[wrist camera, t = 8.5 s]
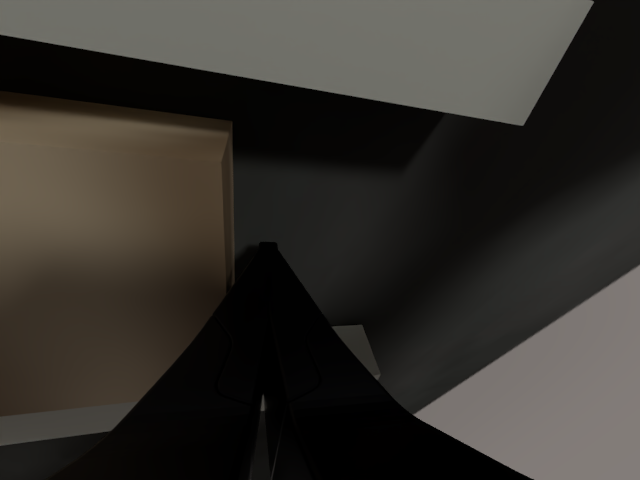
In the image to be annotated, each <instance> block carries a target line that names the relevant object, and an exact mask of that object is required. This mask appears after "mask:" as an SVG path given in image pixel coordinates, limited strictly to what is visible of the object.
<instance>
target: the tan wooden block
mask: <svg viewBox="0 0 640 480" xmlns="http://www.w3.org/2000/svg"><path fill="white" fill-rule="evenodd" d="M234 283H235V272H234V201H233V130H232V121H228V120H220V119H213V118H205V117H197V116H190V115H182V114H174V113H167V112H159V111H152V110H144V109H136V108H129V107H121V106H113V105H106V104H98V103H91V102H83V101H75V100H68V99H60V98H52V97H45V96H37V95H30V94H22V93H14V92H7V91H0V417H2V416H11V415H20V414H29V413H38V412H47V411H56V410H65V409H74V408H83V407H92V406H101V405H110V404H119V403H128V402H137V401H139V400H140V399H141V398H142V397H143V396H144V395H145V394H146V393H147V392H148V390H149V389H150V388H151V387H152V386H153V385H154V384H155V383H156V382H157V381H158V379H159V378H160V377H161V376H162V375H163V374H164V373H165V372H166V371H167V370H168V368H169V367H170V366H171V365H172V364H173V363H174V362H175V361H176V359H177V358H178V357H179V356H180V355H181V354H182V353H183V351H184V350H185V349H186V348H187V347H188V346H189V344H190V343H191V342H192V341H193V339H194V338H195V337H196V335H197V334H198V333H199V331H200V330H201V329H202V328H203V326H204V325H205V323H206V322H207V321H208V319H209V318H210V316H212V314H213V312H214V311H215V310H216V308H217V307H218V305H219V304H220V303H221V301H222V300H223V298H224V297H225V296H226V294H227V293H228V291H229V290H230V289H231V287H232V286H233V284H234Z"/></svg>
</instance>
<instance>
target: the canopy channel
mask: <svg viewBox="0 0 640 480" xmlns="http://www.w3.org/2000/svg"><path fill="white" fill-rule="evenodd" d="M593 3H594V1H591V0H0V35H6V36H11V37H17V38H23V39H28V40H34V41H40V42H46V43H51V44H57V45H63V46H68V47H74V48H80V49H86V50H91V51H97V52H103V53H109V54H114V55H120V56H126V57H131V58H137V59H143V60H149V61H154V62H160V63H166V64H171V65H177V66H183V67H189V68H194V69H200V70H206V71H212V72H217V73H223V74H229V75H234V76H240V77H246V78H252V79H257V80H263V81H269V82H274V83H280V84H286V85H292V86H297V87H303V88H309V89H314V90H320V91H326V92H332V93H337V94H343V95H349V96H355V97H360V98H366V99H372V100H377V101H383V102H389V103H395V104H400V105H406V106H412V107H417V108H423V109H429V110H435V111H440V112H446V113H452V114H458V115H463V116H469V117H475V118H480V119H486V120H492V121H498V122H503V123H509V124H515V125H520V126H523V125H524V123H525V122H526V120H527V118H528V116H529V115H530V113H531V111H532V109H533V108H534V106H535V104H536V102H537V101H538V99H539V97H540V95H541V94H542V92H543V90H544V88H545V87H546V85H547V83H548V81H549V80H550V78H551V76H552V74H553V73H554V71H555V69H556V67H557V66H558V64H559V62H560V61H561V59H562V57H563V55H564V54H565V52H566V50H567V48H568V47H569V45H570V43H571V41H572V40H573V38H574V36H575V34H576V33H577V31H578V29H579V27H580V26H581V24H582V22H583V20H584V19H585V17H586V15H587V13H588V12H589V10H590V8H591V6H592V5H593ZM332 328H333V329H334V330H335V332H336V333H337V334H338V336H339V337H340V338H341V340H342V341H343V342H344V343H345V344H346V345H347V347H348V348H349V349H350V350H351V351H352V353H353V354H354V355H355V356H356V357H357V358H358V359H359V361H360V362H361V363H362V364H363V365H364V366H365V367H366V368H367V369H368V371H369V372H370V373H371V374H372V375H373V376H374V377H375V378H376V380H378V378H379V377H380V375H381V374H380V371H379V369H378V366H377V363H376V361H375V358H374V355H373V353H372V350H371V347H370V344H369V342H368V339H367V336H366V334H365V331H364V328H363V326H362V325H350V326H332ZM137 403H138V401H137V402H128V403H119V404H110V405H101V406H92V407H83V408H74V409H65V410H56V411H47V412H38V413H29V414H20V415H11V416H2V417H0V446H1V445H8V444H16V443H24V442H31V441H39V440H46V439H54V438H62V437H69V436H77V435H84V434H92V433H100V432H107V431H111V430H112V429H113V428H114V427H115V426H116V425H117V424H118V423H119V422H120V421H121V420H122V419H123V418H124V417H125V416H126V415H127V414H128V412H129V411H130V410H131V409H132V408H133V407H134V406H135V405H136V404H137ZM261 411H265V408H264V397H263V398H262V405H261Z"/></svg>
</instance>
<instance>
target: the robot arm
mask: <svg viewBox="0 0 640 480" xmlns="http://www.w3.org/2000/svg"><path fill="white" fill-rule="evenodd" d="M263 397H264V408H265V420H266V431H267V443H268V454H269V466H270V477H271V480H534V479H531V478H529V477H527V476H525V475H523V474H521V473H519V472H517V471H515V470H513V469H511V468H509V467H507V466H505V465H503V464H502V463H500V462H498V461H496V460H494V459H492V458H490V457H489V456H487V455H485V454H483V453H481V452H479V451H477V450H475V449H474V448H472V447H470V446H468V445H466V444H464V443H462V442H461V441H459V440H457V439H455V438H453V437H451V436H449V435H447V434H446V433H444V432H442V431H440V430H438V429H436V428H434V427H433V426H431V425H429V424H427V423H425V422H423V421H421V420H420V419H418V418H416V417H415V416H414V415H412V414H411V413H409V412H408V411H407V410H406V409H404V408H403V407H402V406H401V405H400V404H399V403H398V402H397V401H395V399H394V398H393V397H392V396H391V395H390V394H389V393H388V392H387V391H386V390H385V389H384V387H383V386H382V385H381V384H380V383H379V382H378V381H377V380H376V378H375V377H374V376H373V375H372V374H371V373H370V372H369V371H368V369H367V368H366V367H365V366H364V365H363V364H362V363H361V362H360V361H359V359H358V358H357V357H356V356H355V355H354V354H353V353H352V351H351V350H350V349H349V348H348V347H347V345H346V344H345V343H344V342H343V341H342V340H341V338H340V337H339V336H338V334H337V333H336V332H335V330H334V329H333V328H332V326H331V325H330V324H329V322H328V321H327V319H326V318H325V316H324V315H323V314H322V312H321V311H320V309H319V308H318V306H317V305H316V304H315V302H314V301H313V299H312V298H311V296H310V295H309V293H308V292H307V291H306V289H305V288H304V286H303V285H302V283H301V282H300V281H299V279H298V278H297V276H296V275H295V273H294V272H293V270H292V269H291V268H290V266H289V265H288V263H287V262H286V260H285V259H284V258H283V256H282V255H281V253H280V252H279V250H278V246H277V243H276V242H260V243H259V249H258V251H257V252H256V254H255V255H254V256H253V258H252V259H251V261H250V262H249V263H248V265H247V266H246V268H245V269H244V270H243V272H242V273H241V275H240V276H239V277H238V279H237V280H236V282H235V283H234V284H233V286H232V287H231V289H230V290H229V291H228V293H227V294H226V296H225V297H224V298H223V300H222V301H221V303H220V304H219V305H218V307H217V308H216V310H215V311H214V312H213V314H212V316H210V318H209V319H208V321H207V322H206V323H205V325H204V326H203V328H202V329H201V330H200V331H199V333H198V334H197V335H196V337H195V338H194V339H193V341H192V342H191V343H190V344H189V346H188V347H187V348H186V349H185V350H184V351H183V353H182V354H181V355H180V356H179V357H178V358H177V359H176V361H175V362H174V363H173V364H172V365H171V366H170V367H169V368H168V370H167V371H166V372H165V373H164V374H163V375H162V376H161V377H160V378H159V379H158V381H157V382H156V383H155V384H154V385H153V386H152V387H151V388H150V389H149V390H148V392H147V393H146V394H145V395H144V396H143V397H142V398H141V399H140V400H139V401H138V403H137V404H136V405H135V406H134V407H133V408H132V409H131V410H130V411H129V412H128V414H127V415H126V416H125V417H124V418H123V419H122V420H121V421H120V422H119V423H118V424H117V425H116V426H115V427H114V428H113V429H112V430H111V431H110V432H109V433H108V434H107V435H106V436H105V437H104V438H103V439H101V440H100V441H99V442H98V443H97V444H96V445H94V446H93V447H92V448H91V449H89V450H88V451H87V452H86V453H84V454H83V455H82V456H80V457H79V458H77V459H76V460H74V461H73V462H71V463H70V464H68V465H67V466H65V467H64V468H62V469H61V470H59V471H58V472H56V473H55V474H53V475H52V476H50V477H49V478H47V479H46V480H251V475H252V468H253V461H254V454H255V447H256V440H257V433H258V426H259V419H260V412H261V405H262V398H263Z"/></svg>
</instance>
